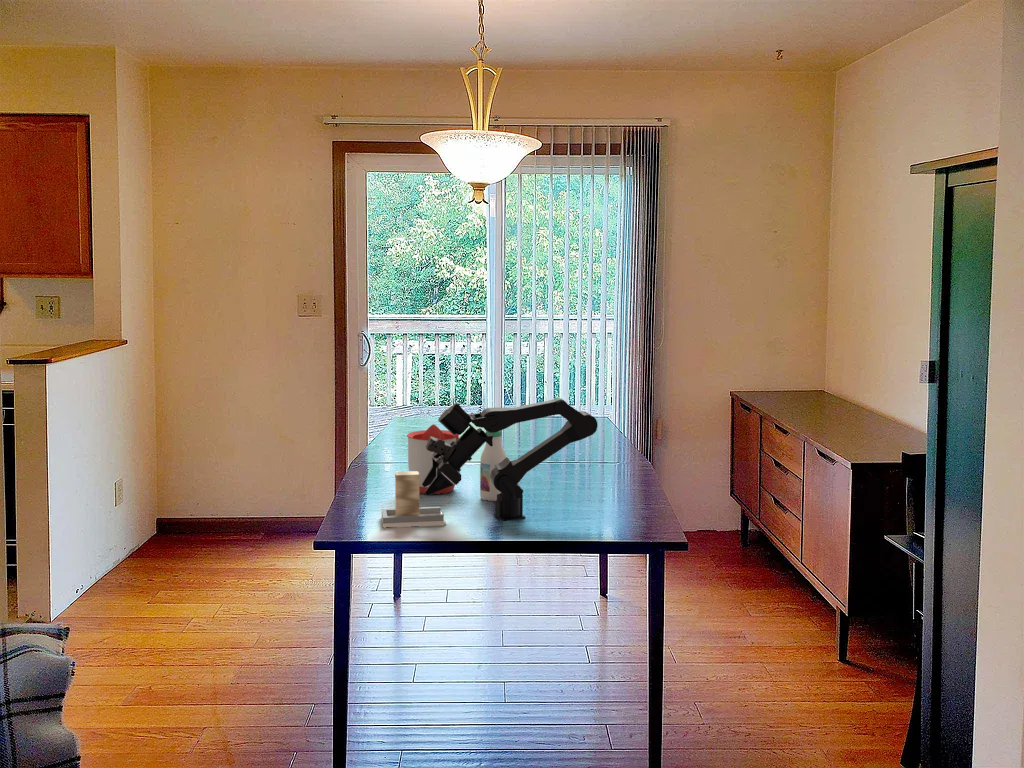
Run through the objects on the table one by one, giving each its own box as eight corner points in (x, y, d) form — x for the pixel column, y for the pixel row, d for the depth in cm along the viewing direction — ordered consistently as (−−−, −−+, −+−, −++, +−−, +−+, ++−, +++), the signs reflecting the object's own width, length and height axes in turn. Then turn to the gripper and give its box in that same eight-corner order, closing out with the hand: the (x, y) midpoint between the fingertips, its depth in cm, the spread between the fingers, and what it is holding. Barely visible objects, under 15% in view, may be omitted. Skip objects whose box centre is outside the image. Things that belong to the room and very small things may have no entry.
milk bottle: (506, 495, 277) (506, 427, 275) (507, 501, 270) (507, 432, 267) (480, 495, 277) (480, 427, 274) (480, 501, 269) (480, 432, 267)
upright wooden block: (418, 515, 251) (418, 471, 249) (419, 519, 247) (419, 474, 245) (395, 516, 250) (395, 471, 248) (396, 520, 246) (395, 475, 244)
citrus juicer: (464, 497, 274) (463, 429, 272) (404, 496, 275) (403, 428, 272) (467, 484, 290) (467, 420, 287) (411, 484, 290) (410, 419, 288)
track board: (441, 515, 255) (441, 506, 255) (445, 525, 245) (445, 515, 245) (381, 517, 252) (381, 508, 252) (383, 528, 243) (383, 518, 242)
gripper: (440, 420, 256) (400, 462, 256) (447, 432, 238) (404, 477, 237) (469, 447, 259) (429, 489, 258) (479, 462, 240) (436, 506, 240)
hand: (424, 489), depth 248 cm, fingers open, 9 cm apart
